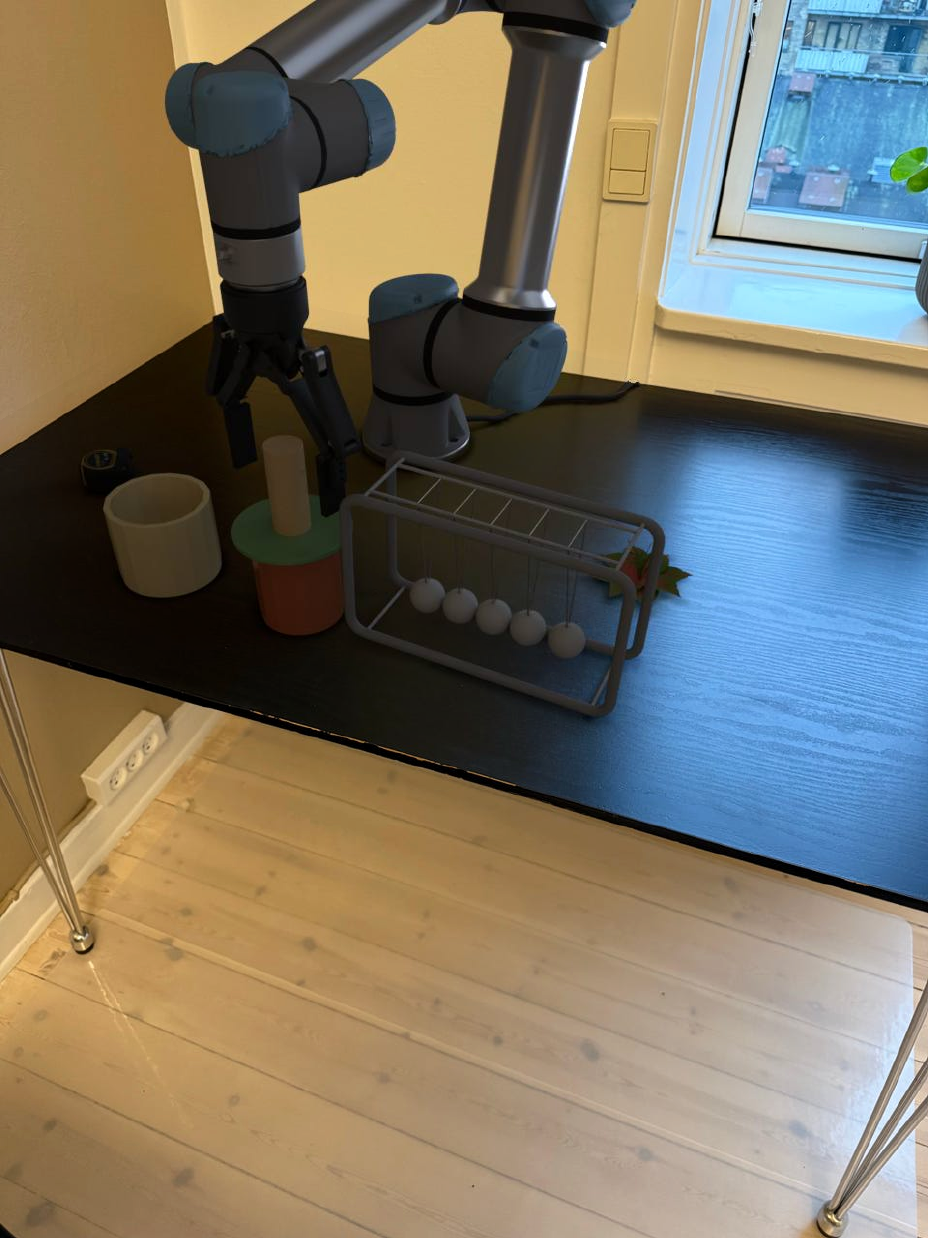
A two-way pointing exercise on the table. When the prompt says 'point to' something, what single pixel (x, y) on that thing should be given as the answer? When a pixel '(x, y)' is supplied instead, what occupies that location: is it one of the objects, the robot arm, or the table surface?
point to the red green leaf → (645, 573)
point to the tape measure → (106, 469)
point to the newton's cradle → (494, 612)
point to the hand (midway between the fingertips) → (288, 486)
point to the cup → (300, 595)
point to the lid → (286, 513)
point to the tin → (164, 534)
